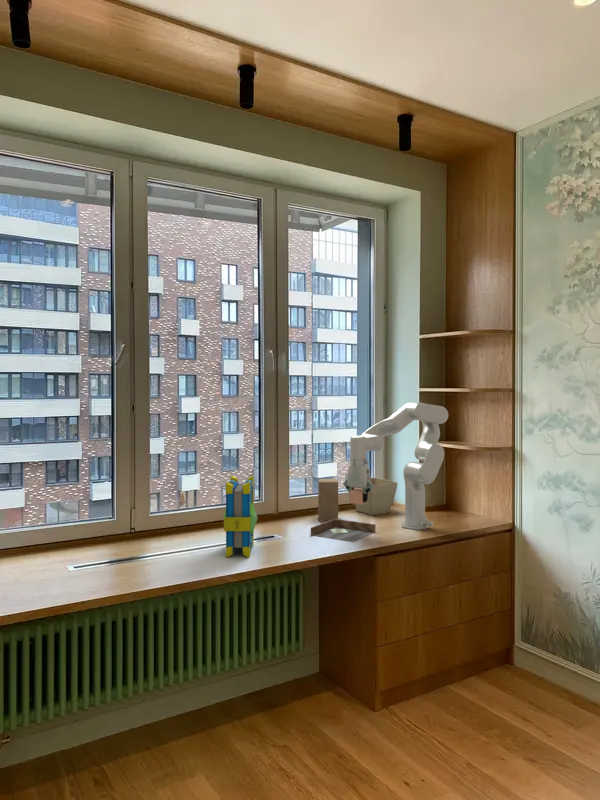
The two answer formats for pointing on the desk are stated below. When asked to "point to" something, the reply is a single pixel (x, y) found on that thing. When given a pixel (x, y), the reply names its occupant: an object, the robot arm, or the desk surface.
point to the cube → (356, 496)
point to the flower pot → (378, 497)
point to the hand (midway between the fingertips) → (358, 500)
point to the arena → (343, 530)
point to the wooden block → (327, 499)
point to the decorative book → (239, 516)
